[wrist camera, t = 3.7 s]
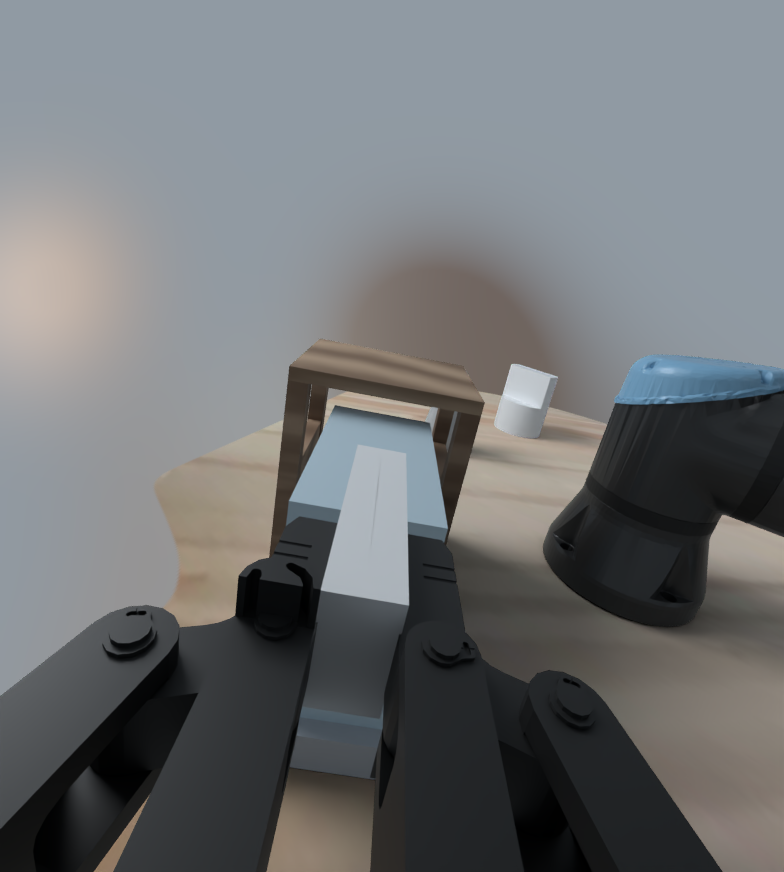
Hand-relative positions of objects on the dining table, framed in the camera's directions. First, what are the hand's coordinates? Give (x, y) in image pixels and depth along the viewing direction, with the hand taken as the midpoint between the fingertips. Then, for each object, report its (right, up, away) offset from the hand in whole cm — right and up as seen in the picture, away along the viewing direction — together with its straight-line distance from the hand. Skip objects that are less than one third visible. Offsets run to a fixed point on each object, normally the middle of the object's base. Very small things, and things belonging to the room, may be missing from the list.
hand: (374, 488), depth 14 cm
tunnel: (-3, -9, +29) cm, 30 cm away
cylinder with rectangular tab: (+25, +3, +75) cm, 79 cm away
